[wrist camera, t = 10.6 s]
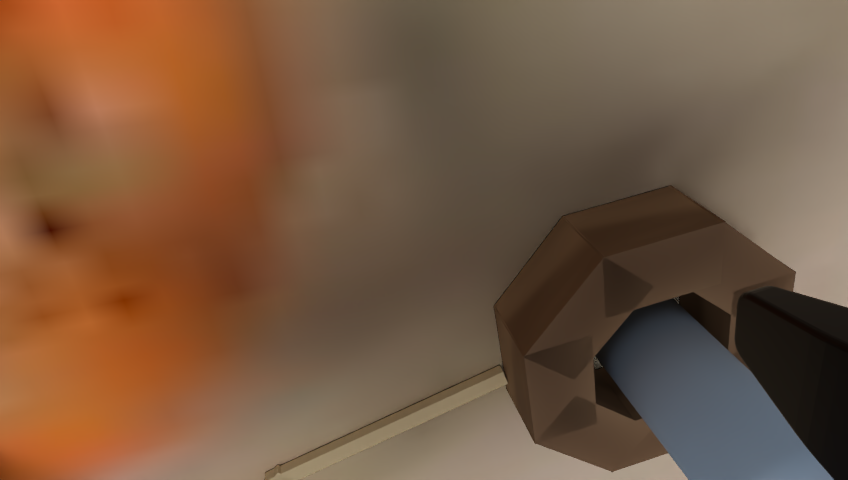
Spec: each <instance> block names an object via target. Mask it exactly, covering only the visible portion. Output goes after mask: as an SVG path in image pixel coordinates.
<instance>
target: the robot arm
mask: <svg viewBox="0 0 848 480" xmlns="http://www.w3.org/2000/svg"><path fill="white" fill-rule="evenodd" d="M734 340H735V346H736V349H737V351H738V353H739V355H740V357H741V358H742V360H743V361H744V362H745V364H746V365H747V367H748V368H749V369H750V371H751V372H752V374H753V375H754V376H755V378H756V379H757V381H758V382H759V383H760V385H761V386H762V388H763V389H764V390H765V392H766V393H767V395H768V396H769V397H770V399H771V400H772V401H773V403H774V404H775V406H776V407H777V408H778V410H779V411H780V413H781V414H782V415H783V417H784V418H785V420H786V421H787V422H788V424H789V425H790V427H791V428H792V429H793V431H794V432H795V433H796V435H797V436H798V437H799V439H800V440H801V441H802V443H803V444H804V445H805V446H806V448H807V449H808V450H809V451H810V452H811V454H812V455H813V456H814V457H815V458H816V460H817V461H818V462H819V463H820V464H821V465H822V467H823V468H824V469H825V470H826V471H827V472H828V473H829V475H830V476H831V477H832V478H833V479H834V480H848V308H847V307H844V306H840V305H837V304H833V303H830V302H827V301H823V300H820V299H816V298H813V297H809V296H806V295H802V294H799V293H795V292H792V291H789V290H785V289H782V288H778V287H774V286H764V287H761V288H757V289H754V290H751V291H748V292H745V293H743V294H742V295H741V296H740V298H739V299H738V304H737V314H736V325H735V336H734Z"/></svg>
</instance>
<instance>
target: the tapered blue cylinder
mask: <svg viewBox="0 0 848 480" xmlns="http://www.w3.org/2000/svg"><path fill="white" fill-rule="evenodd" d="M595 356H596V358H597V359H598V360H599V362H600V363H601V364H602V366H603V367H604V368H605V370H606V371H607V372H608V374H609V375H610V376H611V378H612V379H613V380H614V381H615V383H616V384H617V385H618V387H619V388H620V389H621V391H622V392H623V393H624V395H625V396H626V397H627V399H628V400H629V401H630V403H631V404H632V405H633V407H634V408H635V409H636V411H637V412H638V413H639V415H640V416H641V417H642V419H643V420H644V421H645V423H646V424H647V425H648V427H649V428H650V429H651V430H652V432H653V433H654V434H655V436H656V437H657V438H658V440H659V441H660V442H661V444H662V445H663V446H664V448H665V449H666V450H667V452H668V453H669V454H670V456H671V457H672V458H673V460H674V461H675V462H676V464H677V465H678V466H679V468H680V469H681V470H682V472H683V473H684V474H685V476H686V477H687V478H688V480H834V479H833V478H832V477H831V476H830V475H829V473H828V472H827V471H826V470H825V469H824V468H823V467H822V465H821V464H820V463H819V462H818V461H817V460H816V458H815V457H814V456H813V455H812V454H811V452H810V451H809V450H808V449H807V448H806V446H805V445H804V444H803V443H802V441H801V440H800V439H799V437H798V436H797V435H796V433H795V432H794V431H793V429H792V428H791V427H790V425H789V424H788V422H787V421H786V420H785V418H784V417H783V415H782V414H781V413H780V411H779V410H778V408H777V407H776V406H775V404H774V403H773V401H772V400H771V399H770V397H769V396H768V395H767V393H766V392H765V390H764V389H763V388H762V386H761V385H760V383H759V382H758V381H757V379H756V378H755V376H754V375H753V374H752V372H751V371H750V370H749V369H748V368H747V367H745V366H744V365H743V364H742V363H741V362H740V361H739V360H738V359H737V358H736V357H735V356H734V355H733V354H732V353H731V352H729V351H728V350H727V349H726V348H725V347H724V346H723V345H722V344H721V343H720V342H719V341H718V340H717V339H716V338H715V337H713V336H712V335H711V334H710V333H709V332H708V331H707V330H706V329H705V328H704V327H703V326H702V325H701V324H700V323H699V322H697V321H696V320H695V319H694V318H693V317H692V316H691V315H690V314H689V313H688V312H687V311H686V310H685V309H684V308H683V307H681V306H680V305H679V304H678V303H677V302H676V301H675V300H674V299H673V298H672V299H668V300H665V301H662V302H659V303H655V304H652V305H649V306H646V307H642V308H639V309H636V310H634V311H633V312H632V313H631V314H630V315H629V316H628V318H627V319H626V320H625V321H624V322H623V324H622V325H621V326H620V327H619V328H618V329H617V331H616V332H615V333H614V334H613V335H612V337H611V338H610V339H609V340H608V341H607V342H606V344H605V345H604V346H603V347H602V348H601V350H600V351H599V352H598V353H597V354H596V355H595Z"/></svg>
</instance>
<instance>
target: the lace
mask: <svg viewBox="0 0 848 480" xmlns="http://www.w3.org/2000/svg"><path fill="white" fill-rule="evenodd" d="M507 384H508V383H507V380H506V378H505V375H504V373H503V371H502V369H501V367H500V365H499V366H497V367H495V368H492V369H490V370H488V371H486V372H484V373H482V374H479V375H477V376H475V377H473V378H471V379H469V380H466V381H464V382H462V383H460V384H458V385H455V386H453V387H451V388H449V389H447V390H445V391H442V392H440V393H438V394H436V395H434V396H431V397H429V398H427V399H425V400H423V401H421V402H418V403H416V404H414V405H412V406H410V407H408V408H405V409H403V410H401V411H399V412H397V413H394V414H392V415H390V416H388V417H386V418H384V419H381V420H379V421H377V422H375V423H373V424H370V425H368V426H366V427H364V428H362V429H360V430H357V431H355V432H353V433H351V434H349V435H346V436H344V437H342V438H340V439H338V440H336V441H333V442H331V443H329V444H327V445H325V446H323V447H320V448H318V449H316V450H314V451H312V452H309V453H307V454H305V455H303V456H301V457H299V458H296V459H294V460H292V461H290V462H288V463H285V464H283V465H281V466H280V465H277V466H276V467H275V468H274V469H272V470H270V471H268V472H266V473H265V480H300V479H302V478H305V477H307V476H309V475H311V474H313V473H315V472H318V471H320V470H322V469H324V468H326V467H328V466H331V465H333V464H335V463H337V462H339V461H342V460H344V459H346V458H348V457H350V456H352V455H355V454H357V453H359V452H361V451H363V450H365V449H368V448H370V447H372V446H374V445H376V444H379V443H381V442H383V441H385V440H387V439H389V438H392V437H394V436H396V435H398V434H400V433H402V432H405V431H407V430H409V429H411V428H413V427H415V426H418V425H420V424H422V423H424V422H426V421H429V420H431V419H433V418H435V417H437V416H439V415H442V414H444V413H446V412H448V411H450V410H452V409H455V408H457V407H459V406H461V405H463V404H465V403H468V402H470V401H472V400H474V399H476V398H479V397H481V396H483V395H485V394H487V393H489V392H492V391H494V390H496V389H498V388H500V387H502V386H505V385H507Z"/></svg>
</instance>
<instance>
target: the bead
mask: <svg viewBox="0 0 848 480" xmlns="http://www.w3.org/2000/svg"><path fill="white" fill-rule="evenodd" d="M795 274H796V272H795V271H794V270H792V269H791V268H789V267H788V266H786V265H785V264H783V263H782V262H780V261H779V260H777V259H776V258H774V257H773V256H772V255H770V254H769V253H767V252H766V251H765V250H763V249H762V248H760V247H759V246H758V245H756V244H755V243H753V242H752V241H751V240H749V239H748V238H746V237H745V236H743V235H742V234H741V233H739V232H738V231H736V230H735V229H734V228H732V227H731V226H729V225H728V224H727V223H725V221H723V220H722V219H720V218H719V217H717V216H716V215H714V214H713V213H711V212H710V211H708V210H707V209H706V208H704V207H703V206H701V205H700V204H698V203H697V202H695V201H694V200H692V199H691V198H689V197H688V196H686V195H685V194H683V193H682V192H680V191H679V190H677V189H676V188H674V187H673V186H668V187H664V188H661V189H657V190H654V191H650V192H647V193H643V194H640V195H636V196H633V197H629V198H626V199H622V200H618V201H615V202H611V203H608V204H604V205H601V206H597V207H594V208H590V209H587V210H583V211H580V212H576V213H573V214H569V215H566V216H562V218H561V219H560V220H559V222H558V223H557V224H556V226H555V227H554V228H553V230H552V231H551V232H550V234H549V235H548V236H547V237H546V239H545V240H544V241H543V243H542V244H541V245H540V247H539V248H538V249H537V251H536V252H535V253H534V254H533V256H532V257H531V258H530V260H529V261H528V262H527V264H526V265H525V266H524V268H523V269H522V270H521V271H520V273H519V274H518V275H517V277H516V278H515V279H514V281H513V282H512V283H511V285H510V286H509V287H508V289H507V290H506V291H505V292H504V294H503V295H502V296H501V298H500V299H499V300H498V302H497V303H496V304H495V305H494V310H495V316H496V323H497V329H498V336H499V342H500V349H501V355H502V362H503V368H504V375H505V378H506V380H507V383H508V384H507V385H506V389H507V391H508V393H509V395H510V396H511V398H512V400H513V402H514V404H515V406H516V408H517V410H518V412H519V414H520V416H521V418H522V420H523V422H524V423H525V425H526V427H527V429H528V431H529V433H530V435H531V437H532V439H533V441H534V443H535V444H539V445H541V446H544V447H547V448H549V449H552V450H555V451H558V452H560V453H563V454H566V455H568V456H571V457H574V458H577V459H579V460H582V461H585V462H587V463H590V464H593V465H596V466H598V467H601V468H604V469H606V470H609V471H611V472H613V471H616V470H619V469H622V468H625V467H628V466H631V465H634V464H637V463H640V462H643V461H646V460H649V459H652V458H655V457H658V456H661V455H664V454H666V453H668V452H667V450H666V449H665V448H664V446H663V445H662V444H661V442H660V441H659V440H658V438H657V437H656V436H655V434H654V433H653V432H652V430H651V429H650V428H649V427H648V425H647V424H646V423H645V421H644V420H643V419H642V417H641V416H640V415H639V413H638V412H637V411H636V409H635V408H634V407H633V405H632V404H631V403H630V401H629V400H628V399H627V397H626V396H625V395H624V393H623V392H622V391H621V389H620V388H619V387H618V385H617V384H616V383H615V381H614V380H613V379H612V378H611V376H610V375H609V374H608V372H607V371H606V370H605V368H604V367H603V368H600V369H595V368H594V363H593V358H594V357H595V355H596V354H597V353H598V352H599V351H600V350H601V348H602V347H603V346H604V345H605V344H606V342H607V341H608V340H609V339H610V338H611V337H612V335H613V334H614V333H615V332H616V331H617V329H618V328H619V327H620V326H621V325H622V324H623V322H624V321H625V320H626V319H627V318H628V316H629V315H630V314H631V313H632V312H633V311H634V310H636V309H639V308H642V307H646V306H649V305H652V304H655V303H659V302H662V301H665V300H668V299H672V298H675V297H678V296H680V306H681V307H683V308H684V309H685V310H686V311H687V312H688V313H689V314H690V315H691V316H692V317H693V318H694V319H695V320H696V321H697V322H699V323H700V324H701V325H702V326H703V327H704V328H705V329H706V330H707V331H708V332H709V333H710V334H711V335H712V336H713V337H715V338H716V339H717V340H718V341H719V342H720V343H721V344H722V345H723V346H724V347H725V348H726V349H727V350H728V351H729V352H731V353H732V354H733V355H734V356H735V357H736V358H737V359H738V360H739V361H740V362H741V363H742V364H743V365H744V366H745V367H747V365H746V364H745V362H744V361H743V360H742V358H741V357H740V355H739V353H738V351H737V349H736V346H735V340H734V336H735V325H736V314H737V304H738V299H739V298H740V296H741V295H742V294H743V293H745V292H748V291H751V290H754V289H757V288H761V287H764V286H774V287H778V288H782V289H785V290H789V291H792V292H793V287H794V281H795ZM747 368H748V367H747ZM748 369H749V368H748ZM749 370H750V369H749Z"/></svg>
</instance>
